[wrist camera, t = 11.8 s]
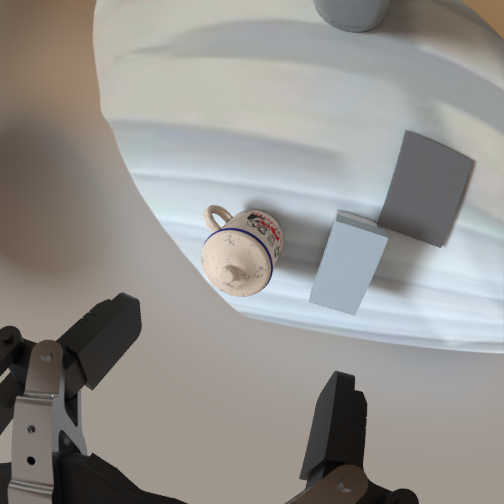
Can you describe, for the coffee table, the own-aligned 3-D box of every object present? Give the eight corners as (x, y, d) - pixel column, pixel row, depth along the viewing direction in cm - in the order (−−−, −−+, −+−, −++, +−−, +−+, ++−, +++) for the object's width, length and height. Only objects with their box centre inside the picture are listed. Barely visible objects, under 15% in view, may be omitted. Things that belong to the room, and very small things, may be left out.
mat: (405, 130, 29) (407, 130, 29) (469, 159, 28) (472, 160, 27) (377, 222, 36) (378, 225, 35) (438, 245, 34) (440, 247, 33)
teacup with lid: (298, 245, 41) (282, 289, 31) (252, 274, 45) (225, 320, 35) (245, 178, 39) (209, 200, 29) (202, 214, 43) (160, 246, 33)
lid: (336, 213, 32) (336, 221, 30) (385, 229, 31) (388, 238, 29) (311, 290, 37) (308, 301, 35) (354, 303, 36) (354, 315, 34)
